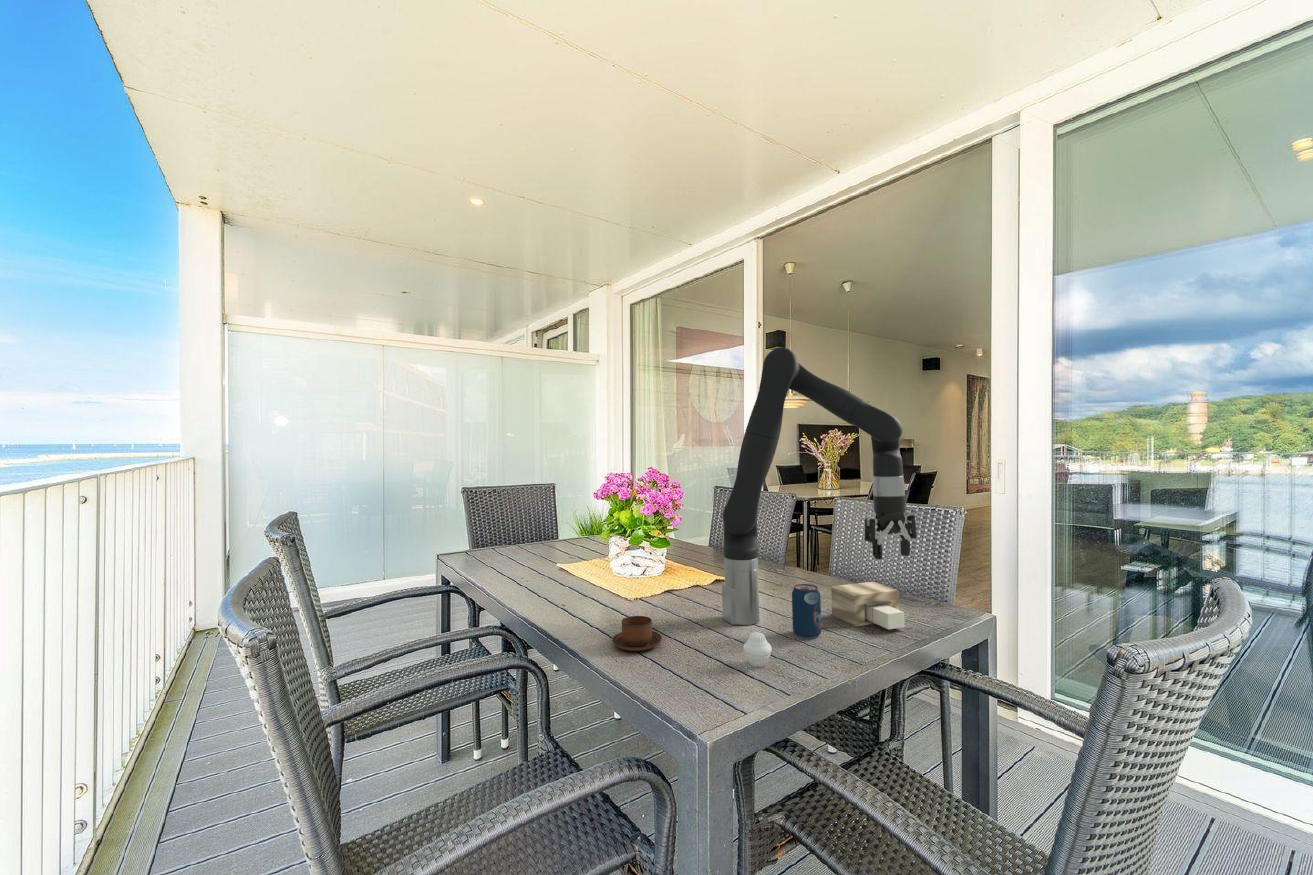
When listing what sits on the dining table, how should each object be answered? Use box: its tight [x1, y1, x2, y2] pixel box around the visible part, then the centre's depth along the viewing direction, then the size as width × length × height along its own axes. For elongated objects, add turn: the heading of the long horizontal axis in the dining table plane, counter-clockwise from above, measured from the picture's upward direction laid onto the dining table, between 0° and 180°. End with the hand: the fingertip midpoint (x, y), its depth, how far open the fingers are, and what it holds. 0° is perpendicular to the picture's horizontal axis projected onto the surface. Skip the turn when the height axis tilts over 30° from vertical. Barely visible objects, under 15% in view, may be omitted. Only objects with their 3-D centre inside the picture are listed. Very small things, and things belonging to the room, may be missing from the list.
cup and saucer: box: [611, 615, 663, 652], centre depth 128 cm, size 12×12×6 cm
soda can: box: [791, 583, 822, 640], centre depth 133 cm, size 7×7×12 cm
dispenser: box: [830, 581, 900, 627], centre depth 145 cm, size 14×11×8 cm
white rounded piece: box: [742, 632, 773, 668], centre depth 116 cm, size 6×6×7 cm
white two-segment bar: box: [864, 604, 906, 630], centre depth 140 cm, size 5×14×4 cm, turn 17°
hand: (891, 557), depth 135 cm, fingers open, 8 cm apart
